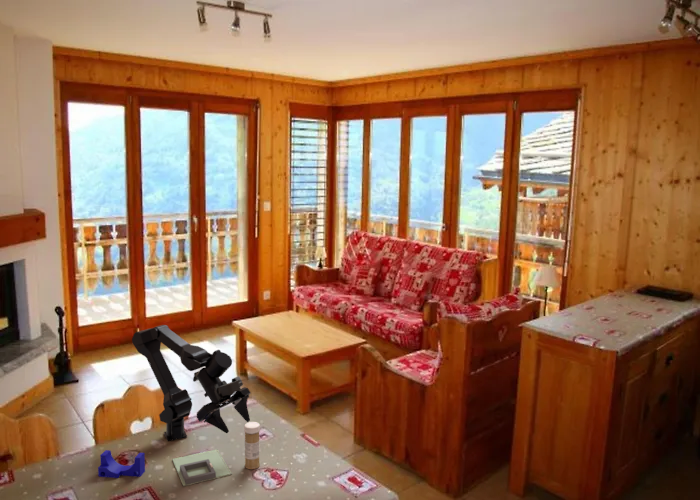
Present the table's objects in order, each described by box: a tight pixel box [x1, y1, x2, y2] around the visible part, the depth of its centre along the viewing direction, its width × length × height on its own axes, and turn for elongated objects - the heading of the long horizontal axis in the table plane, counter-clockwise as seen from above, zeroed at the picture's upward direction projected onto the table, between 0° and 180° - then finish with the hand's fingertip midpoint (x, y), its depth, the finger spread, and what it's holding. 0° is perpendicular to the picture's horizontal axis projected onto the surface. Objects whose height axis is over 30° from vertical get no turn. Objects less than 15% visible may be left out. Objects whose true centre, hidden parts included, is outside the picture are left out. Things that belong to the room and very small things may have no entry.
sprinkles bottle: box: [243, 421, 261, 470], centre depth 169 cm, size 5×5×14 cm
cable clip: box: [97, 449, 146, 479], centre depth 164 cm, size 12×4×6 cm, turn 85°
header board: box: [172, 449, 232, 487], centre depth 169 cm, size 16×14×2 cm
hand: (238, 426), depth 172 cm, fingers open, 9 cm apart
